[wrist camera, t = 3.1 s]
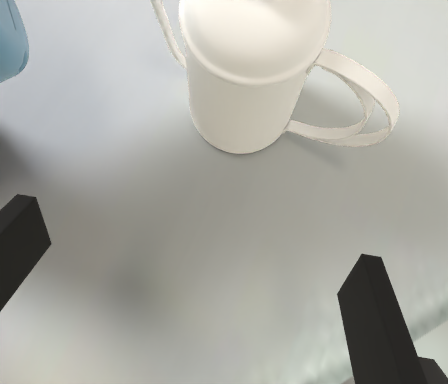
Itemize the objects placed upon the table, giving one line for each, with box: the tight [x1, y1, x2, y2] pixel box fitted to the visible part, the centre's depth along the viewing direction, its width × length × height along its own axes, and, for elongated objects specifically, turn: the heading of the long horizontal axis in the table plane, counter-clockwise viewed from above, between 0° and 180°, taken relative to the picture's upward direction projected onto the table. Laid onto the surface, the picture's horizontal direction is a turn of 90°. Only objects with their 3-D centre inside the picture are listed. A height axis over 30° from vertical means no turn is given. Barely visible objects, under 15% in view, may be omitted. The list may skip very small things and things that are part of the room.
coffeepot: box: [150, 0, 400, 154], centre depth 25 cm, size 11×25×19 cm, turn 59°
